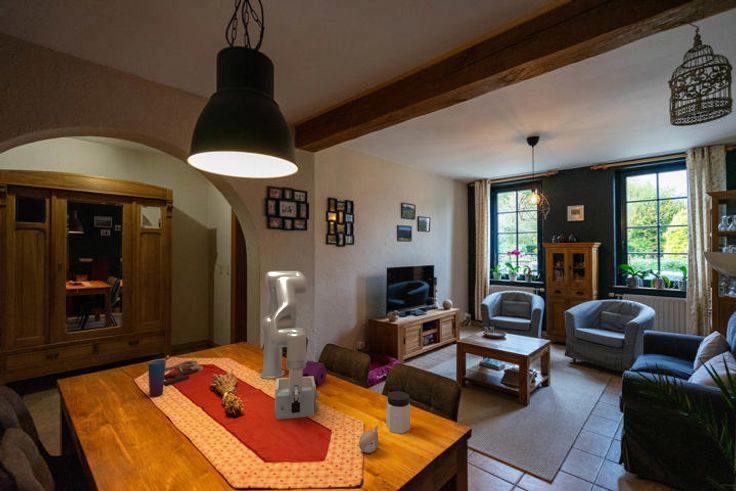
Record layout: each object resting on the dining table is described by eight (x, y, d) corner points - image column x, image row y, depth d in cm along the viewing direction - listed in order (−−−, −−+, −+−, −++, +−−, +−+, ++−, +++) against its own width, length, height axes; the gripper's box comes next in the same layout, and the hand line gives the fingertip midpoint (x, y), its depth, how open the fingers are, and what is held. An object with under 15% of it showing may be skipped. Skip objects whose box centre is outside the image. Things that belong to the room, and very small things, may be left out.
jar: (383, 431, 124) (384, 398, 124) (389, 420, 131) (389, 389, 132) (407, 435, 121) (408, 401, 121) (411, 424, 129) (412, 392, 129)
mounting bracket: (308, 405, 157) (327, 376, 173) (303, 391, 154) (324, 363, 169) (291, 401, 162) (312, 373, 177) (286, 387, 158) (308, 360, 174)
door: (276, 415, 135) (276, 392, 135) (313, 412, 138) (313, 389, 138) (275, 421, 130) (276, 397, 130) (314, 417, 134) (314, 394, 134)
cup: (143, 396, 150) (144, 362, 150) (158, 391, 156) (159, 358, 157) (154, 399, 147) (155, 364, 148) (168, 393, 154) (169, 360, 154)
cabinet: (275, 401, 147) (276, 378, 147) (316, 398, 151) (317, 375, 151) (274, 416, 133) (275, 391, 134) (319, 412, 137) (320, 387, 138)
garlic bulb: (376, 457, 107) (377, 432, 108) (357, 455, 108) (357, 430, 109) (379, 446, 114) (379, 422, 114) (360, 444, 115) (361, 420, 115)
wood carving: (165, 387, 162) (214, 374, 180) (165, 383, 162) (214, 370, 180) (147, 373, 180) (193, 363, 198) (147, 369, 180) (193, 359, 198)
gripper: (286, 357, 142) (285, 398, 142) (286, 371, 126) (285, 418, 125) (304, 356, 144) (304, 397, 144) (306, 370, 127) (306, 416, 127)
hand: (295, 406), depth 134 cm, fingers open, 9 cm apart
